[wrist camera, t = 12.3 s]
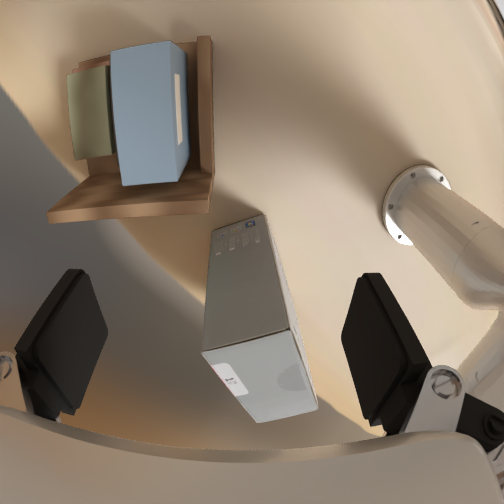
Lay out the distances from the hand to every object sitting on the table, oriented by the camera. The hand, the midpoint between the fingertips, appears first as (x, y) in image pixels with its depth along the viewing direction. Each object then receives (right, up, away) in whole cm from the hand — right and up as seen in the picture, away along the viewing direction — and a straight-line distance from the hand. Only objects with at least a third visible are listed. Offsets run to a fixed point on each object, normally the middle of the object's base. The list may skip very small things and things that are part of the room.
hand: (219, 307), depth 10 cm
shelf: (-11, +18, +20) cm, 29 cm away
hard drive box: (+2, 0, +33) cm, 33 cm away
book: (-8, +18, +19) cm, 28 cm away
